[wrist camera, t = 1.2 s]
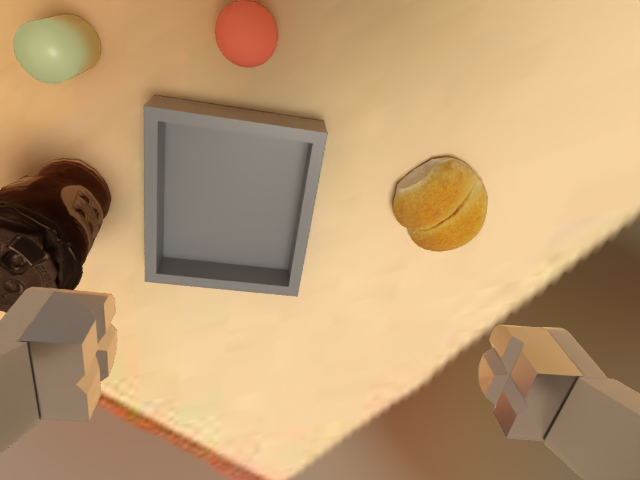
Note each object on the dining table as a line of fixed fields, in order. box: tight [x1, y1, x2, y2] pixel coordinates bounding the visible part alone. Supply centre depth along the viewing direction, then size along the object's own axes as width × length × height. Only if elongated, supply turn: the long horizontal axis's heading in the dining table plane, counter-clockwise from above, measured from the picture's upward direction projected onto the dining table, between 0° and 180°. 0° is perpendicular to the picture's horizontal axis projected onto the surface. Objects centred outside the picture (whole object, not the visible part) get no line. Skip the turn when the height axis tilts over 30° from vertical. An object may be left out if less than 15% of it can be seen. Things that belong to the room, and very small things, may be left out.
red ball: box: [215, 0, 278, 67], centre depth 35 cm, size 4×4×4 cm
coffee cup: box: [0, 159, 111, 313], centre depth 37 cm, size 9×8×13 cm
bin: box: [144, 95, 327, 297], centre depth 42 cm, size 16×14×4 cm
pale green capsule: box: [13, 14, 101, 84], centre depth 34 cm, size 4×4×5 cm
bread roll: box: [393, 157, 488, 252], centre depth 44 cm, size 8×9×4 cm
